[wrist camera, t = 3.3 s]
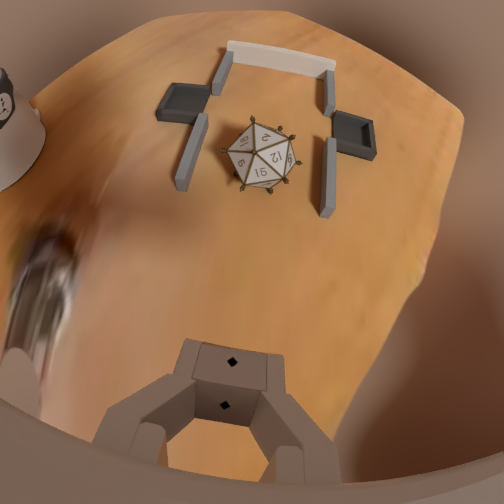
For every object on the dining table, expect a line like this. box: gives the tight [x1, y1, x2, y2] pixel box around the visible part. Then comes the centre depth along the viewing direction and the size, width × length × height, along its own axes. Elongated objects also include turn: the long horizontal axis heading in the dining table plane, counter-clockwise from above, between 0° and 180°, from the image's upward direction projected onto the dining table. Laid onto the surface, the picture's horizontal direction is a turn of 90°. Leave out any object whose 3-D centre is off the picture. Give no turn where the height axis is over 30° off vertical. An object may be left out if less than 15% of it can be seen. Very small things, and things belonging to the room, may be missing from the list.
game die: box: [219, 115, 303, 194], centre depth 34 cm, size 9×8×10 cm
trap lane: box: [156, 40, 377, 218], centre depth 39 cm, size 31×29×4 cm
